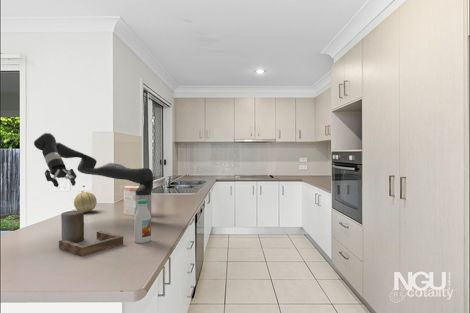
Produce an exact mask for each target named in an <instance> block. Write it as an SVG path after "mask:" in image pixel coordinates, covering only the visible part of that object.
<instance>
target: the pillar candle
mask: <svg viewBox="0 0 470 313" xmlns="http://www.w3.org/2000/svg"><path fill="white" fill-rule="evenodd" d="M84 214H85V213H84V212H83V211H78V210H70V211H65V212H64V211H63V212H62V213H61V214H60V215H61V240H67V241H70V242H73V243H79V242H82V241H84V240H85V215H84Z"/></svg>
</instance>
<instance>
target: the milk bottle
mask: <svg viewBox="0 0 470 313" xmlns="http://www.w3.org/2000/svg"><path fill="white" fill-rule="evenodd" d="M147 204H148V200H146V199H142V200H138V209H137V212H136V214H135V216H134V222H133V223H134V225H133V227H134V228H133V229H134V230H133V233H134V235H133V236H134V237H133V239H134V240H133V241H134V242H135V243H137V244H144V243H149V242H151V240H152V214H151V215H150V212H149V210H148V207H147Z"/></svg>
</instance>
